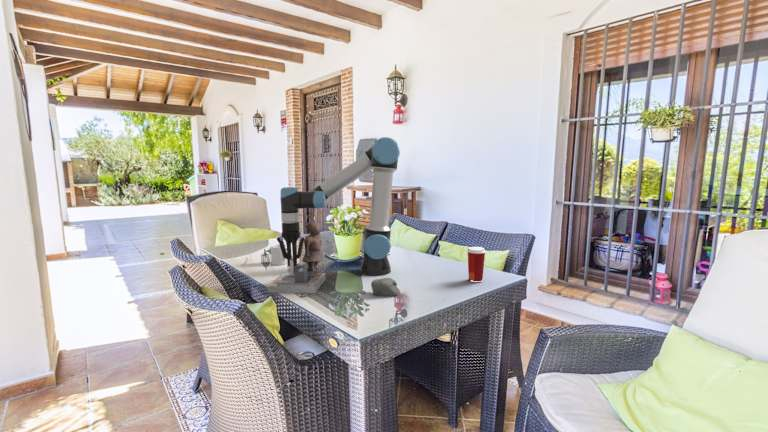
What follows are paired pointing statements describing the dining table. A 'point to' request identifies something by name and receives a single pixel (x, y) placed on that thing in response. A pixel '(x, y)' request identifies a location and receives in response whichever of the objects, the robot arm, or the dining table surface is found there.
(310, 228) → the clay figurine
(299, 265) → the block
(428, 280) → the dining table surface
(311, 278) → the switch unit
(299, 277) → the slider near
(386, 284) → the stone
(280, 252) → the mug
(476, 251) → the beer glass
